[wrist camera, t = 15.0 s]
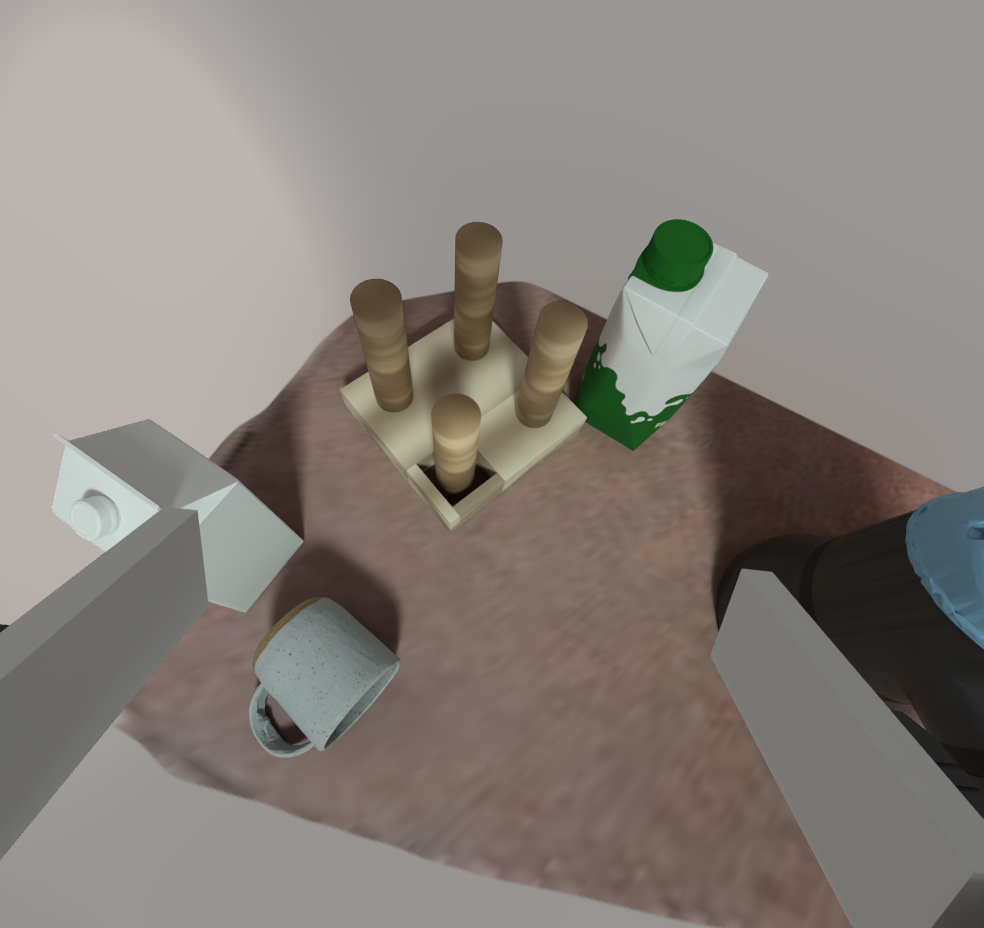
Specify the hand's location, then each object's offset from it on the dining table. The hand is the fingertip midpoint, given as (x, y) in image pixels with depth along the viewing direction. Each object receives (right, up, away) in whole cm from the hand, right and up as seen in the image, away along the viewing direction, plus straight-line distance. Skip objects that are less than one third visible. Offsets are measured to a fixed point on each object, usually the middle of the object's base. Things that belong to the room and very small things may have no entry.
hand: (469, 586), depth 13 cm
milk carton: (-20, -5, +31) cm, 37 cm away
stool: (-2, +7, +37) cm, 38 cm away
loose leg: (-3, +1, +34) cm, 35 cm away
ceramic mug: (-12, -14, +27) cm, 33 cm away
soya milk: (+13, +9, +39) cm, 42 cm away
